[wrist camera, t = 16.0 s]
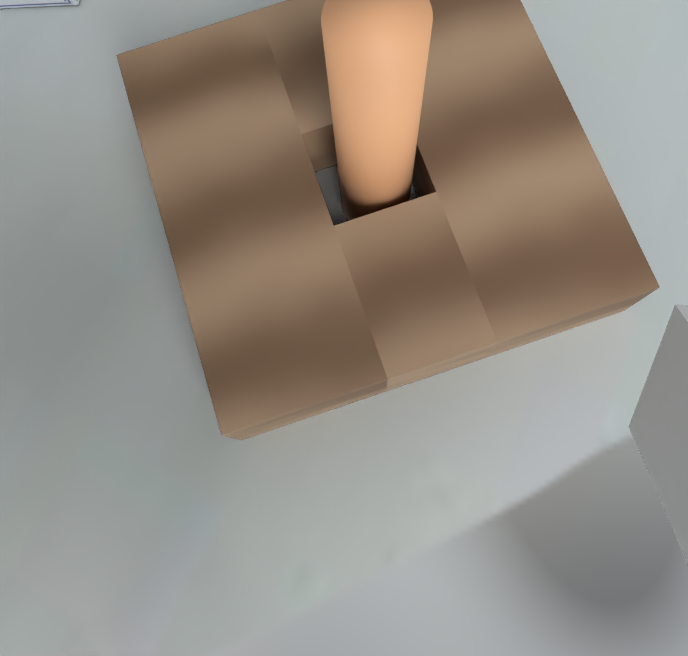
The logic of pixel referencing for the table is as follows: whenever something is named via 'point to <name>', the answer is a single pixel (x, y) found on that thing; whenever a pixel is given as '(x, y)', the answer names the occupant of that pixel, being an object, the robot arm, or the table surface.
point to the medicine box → (36, 3)
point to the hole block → (376, 228)
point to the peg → (375, 96)
